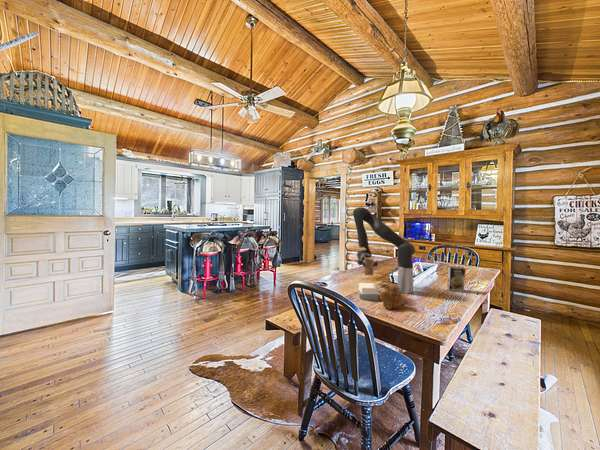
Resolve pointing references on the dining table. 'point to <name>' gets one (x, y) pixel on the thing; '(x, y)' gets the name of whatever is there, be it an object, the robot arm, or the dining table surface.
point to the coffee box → (456, 279)
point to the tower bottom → (367, 296)
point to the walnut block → (368, 266)
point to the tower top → (368, 288)
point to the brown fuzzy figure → (391, 297)
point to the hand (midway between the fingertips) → (369, 265)
